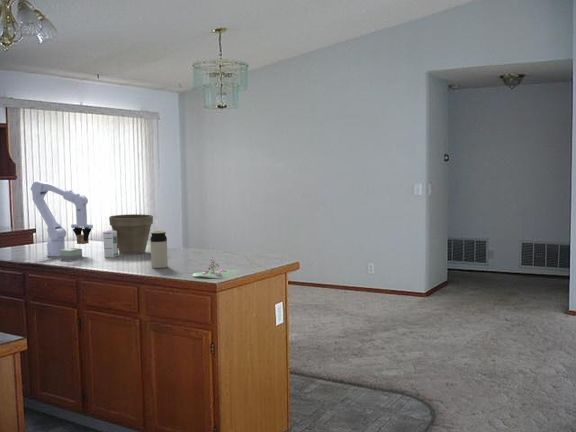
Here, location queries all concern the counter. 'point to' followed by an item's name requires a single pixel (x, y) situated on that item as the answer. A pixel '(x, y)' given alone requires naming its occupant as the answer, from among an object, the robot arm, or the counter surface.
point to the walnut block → (81, 239)
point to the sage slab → (71, 252)
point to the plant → (215, 272)
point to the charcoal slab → (71, 257)
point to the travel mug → (159, 249)
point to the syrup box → (110, 243)
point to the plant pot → (131, 232)
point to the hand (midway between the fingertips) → (82, 240)
